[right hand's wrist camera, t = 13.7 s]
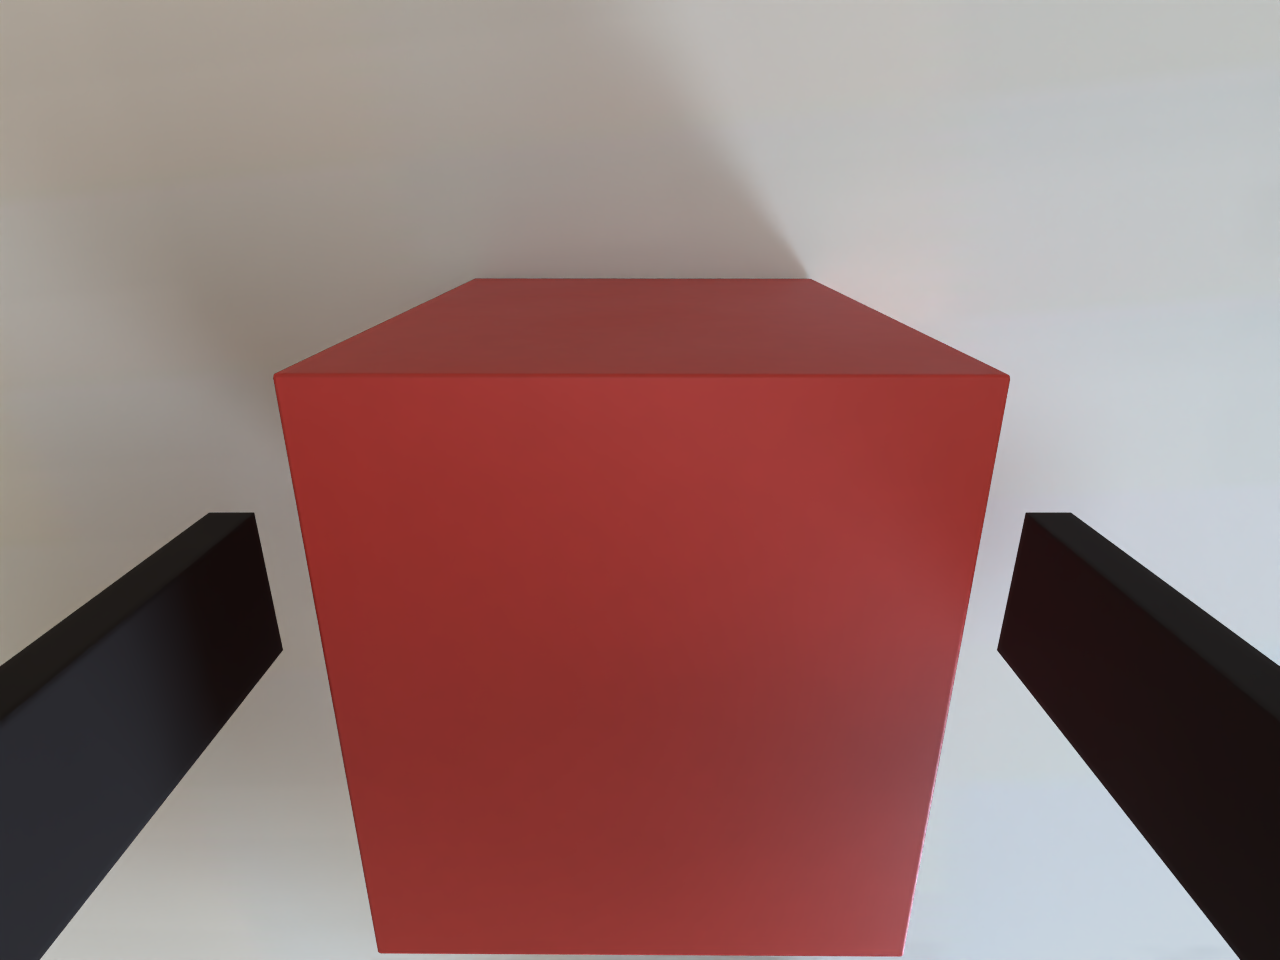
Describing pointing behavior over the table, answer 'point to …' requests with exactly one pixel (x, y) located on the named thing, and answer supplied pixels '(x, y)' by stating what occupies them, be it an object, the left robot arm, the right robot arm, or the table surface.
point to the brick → (641, 609)
